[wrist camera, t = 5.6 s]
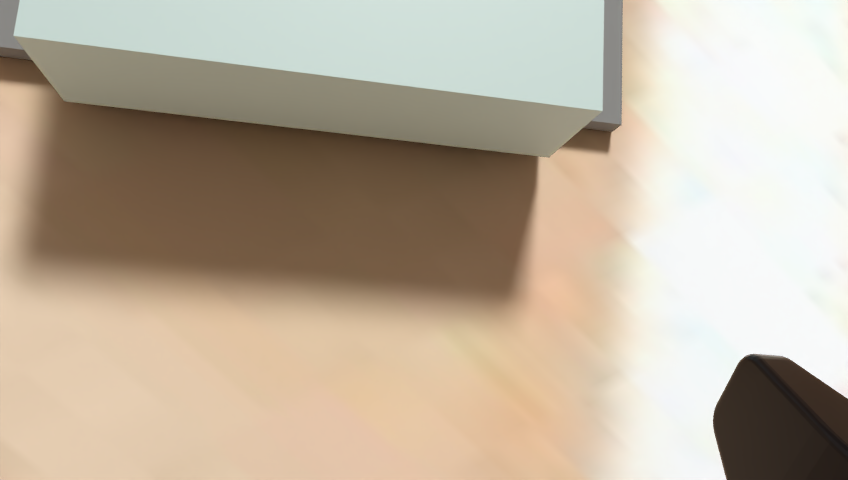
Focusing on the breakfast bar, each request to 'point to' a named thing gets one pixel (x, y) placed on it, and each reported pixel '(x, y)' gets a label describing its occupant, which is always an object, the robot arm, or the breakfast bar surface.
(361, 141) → the breakfast bar surface
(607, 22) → the mat
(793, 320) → the breakfast bar surface
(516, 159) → the breakfast bar surface
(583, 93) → the grey-green slab
